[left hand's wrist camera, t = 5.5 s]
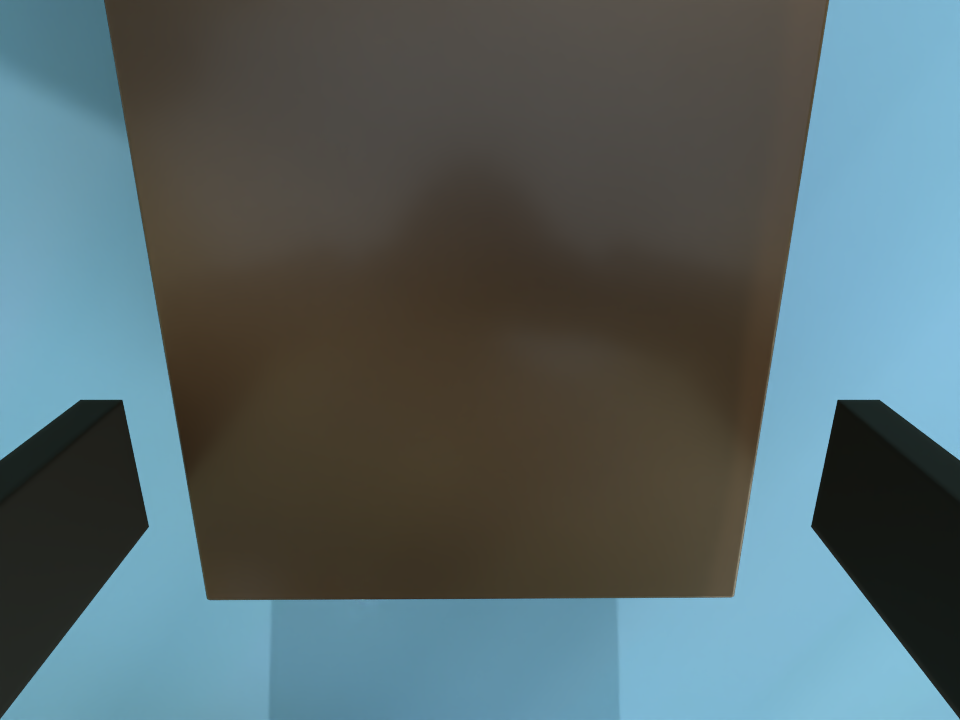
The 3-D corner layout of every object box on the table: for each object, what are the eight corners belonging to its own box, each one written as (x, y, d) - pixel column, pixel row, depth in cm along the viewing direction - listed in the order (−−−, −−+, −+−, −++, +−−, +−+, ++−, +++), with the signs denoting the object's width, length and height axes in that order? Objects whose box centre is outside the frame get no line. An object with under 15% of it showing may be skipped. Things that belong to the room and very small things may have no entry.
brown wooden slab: (214, -391, 15) (-56, -912, 7) (721, -389, 15) (975, -901, 7) (299, 430, 22) (206, 601, 14) (644, 429, 22) (734, 598, 14)
